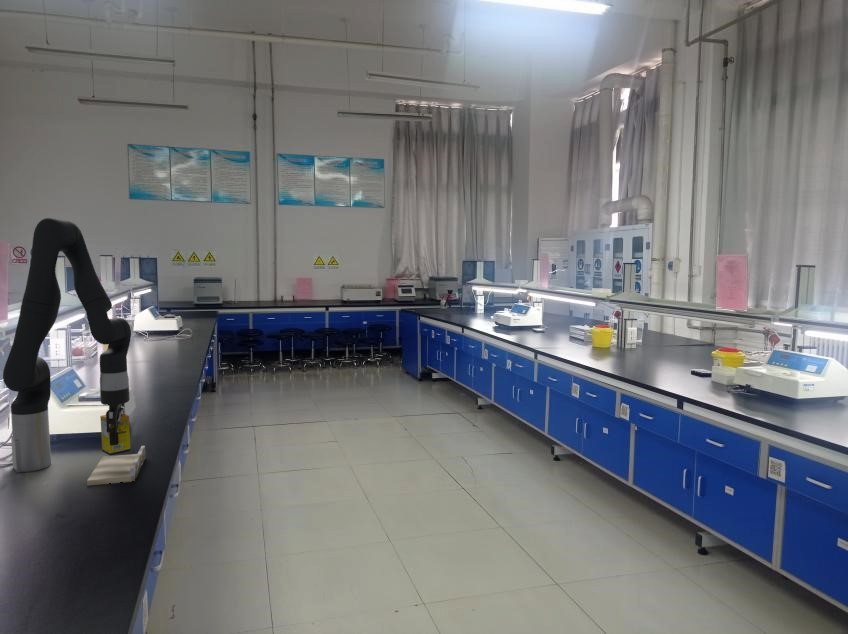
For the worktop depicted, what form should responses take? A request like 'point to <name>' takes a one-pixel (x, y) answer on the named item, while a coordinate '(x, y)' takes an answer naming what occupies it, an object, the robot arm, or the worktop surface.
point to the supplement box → (122, 435)
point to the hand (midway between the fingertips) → (117, 440)
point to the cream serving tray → (117, 468)
